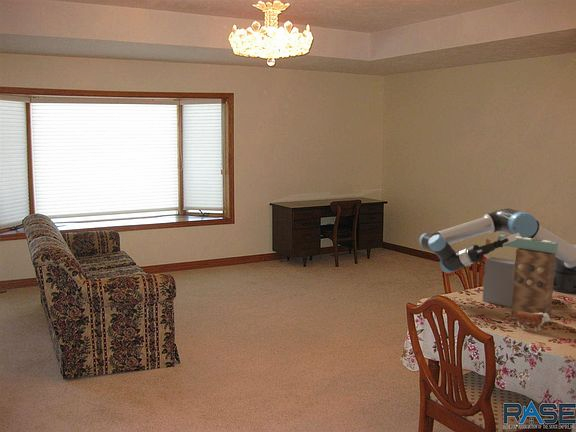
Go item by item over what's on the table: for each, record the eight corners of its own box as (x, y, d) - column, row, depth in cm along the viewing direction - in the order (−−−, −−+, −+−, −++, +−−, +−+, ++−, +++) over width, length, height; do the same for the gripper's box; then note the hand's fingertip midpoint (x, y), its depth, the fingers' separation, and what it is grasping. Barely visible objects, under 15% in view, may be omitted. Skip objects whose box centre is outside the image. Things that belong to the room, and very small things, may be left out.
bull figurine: (548, 334, 245) (550, 315, 244) (513, 328, 252) (515, 309, 251) (550, 331, 249) (552, 312, 248) (516, 325, 256) (517, 306, 255)
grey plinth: (516, 303, 288) (519, 261, 285) (509, 306, 282) (512, 264, 279) (489, 297, 297) (492, 257, 294) (482, 301, 291) (485, 259, 288)
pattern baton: (557, 252, 256) (558, 241, 256) (553, 253, 253) (554, 243, 253) (501, 243, 272) (502, 233, 272) (497, 244, 269) (498, 235, 269)
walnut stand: (549, 321, 263) (556, 252, 258) (542, 325, 257) (549, 254, 252) (517, 313, 272) (522, 247, 268) (510, 317, 266) (515, 249, 262)
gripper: (483, 260, 286) (529, 241, 271) (466, 265, 273) (513, 246, 258) (476, 245, 287) (521, 225, 272) (459, 250, 275) (505, 230, 260)
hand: (517, 236), depth 265 cm, fingers closed on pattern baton, 4 cm apart
